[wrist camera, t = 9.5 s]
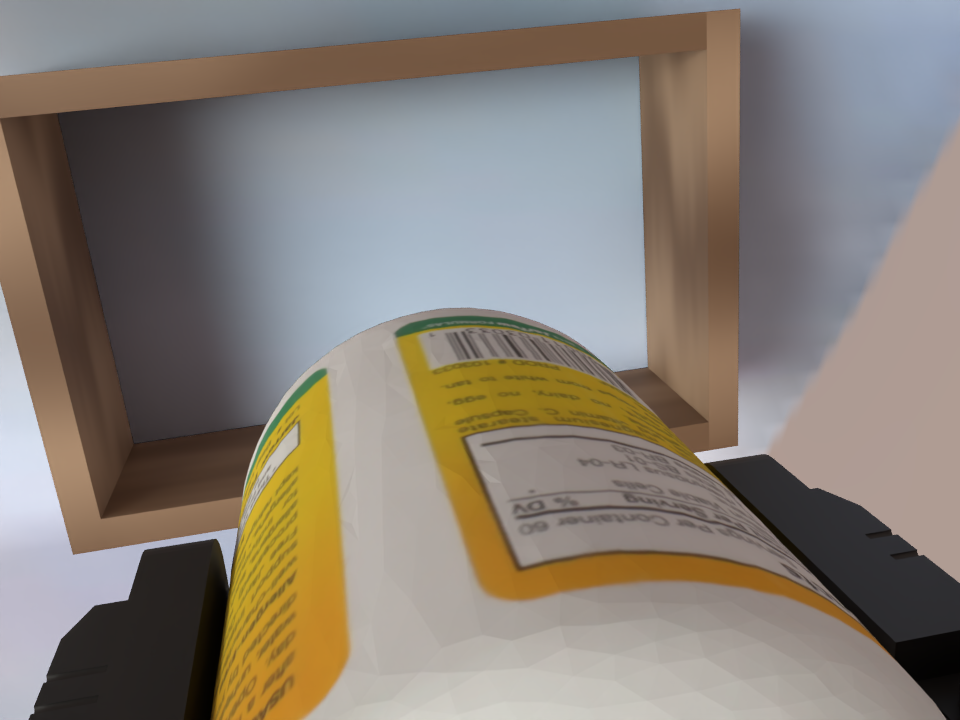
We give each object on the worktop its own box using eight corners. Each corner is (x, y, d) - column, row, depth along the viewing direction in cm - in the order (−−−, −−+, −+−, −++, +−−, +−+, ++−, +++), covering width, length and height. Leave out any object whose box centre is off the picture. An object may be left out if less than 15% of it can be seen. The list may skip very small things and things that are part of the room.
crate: (13, 76, 22) (-54, 81, 18) (665, 16, 25) (740, 8, 21) (110, 473, 26) (73, 554, 22) (673, 388, 28) (737, 445, 24)
